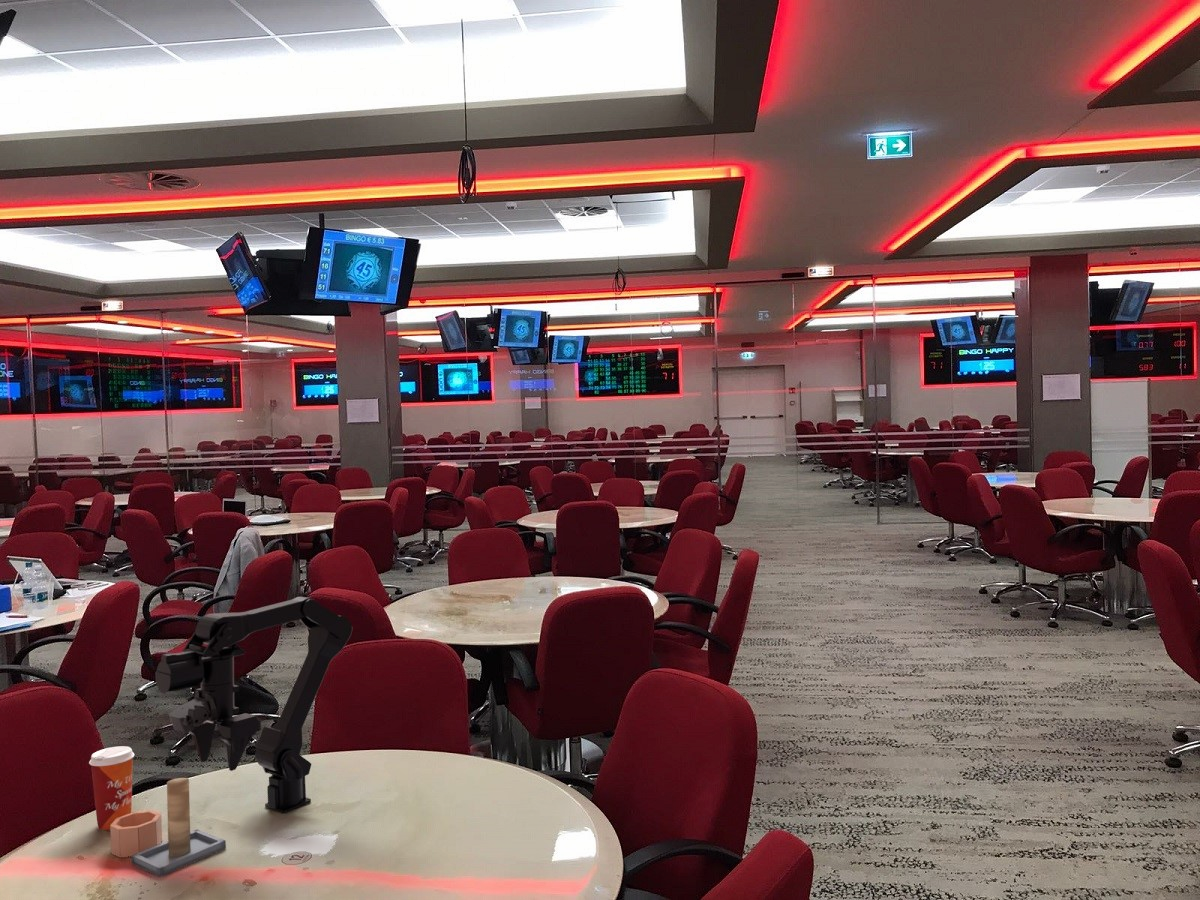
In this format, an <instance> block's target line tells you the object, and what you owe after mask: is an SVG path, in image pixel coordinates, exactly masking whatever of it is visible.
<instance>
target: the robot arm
mask: <svg viewBox="0 0 1200 900" xmlns="http://www.w3.org/2000/svg"><path fill="white" fill-rule="evenodd" d="M297 620H299V622H301V624H302V625H304V627H306V628H308V629H309V631H308V635H307V650H308V651H307V654H306V657H305V660H304V661H303V664H302V666H301V668H300V669H299V670H300V671H299V673H298V675H297V678H296V680H295V682H294V685H293V687H292V689H291V691H290V693H289V696H288V698H287V701H286V703H285V705H284V708H283V710H282V712H281V714H280V716H279V718H278V720H277V721H276V723H274V724H273V725H272V726H271V727H269V726H264V727H263V729H261V728H262V725H261V723H262V720H261V718H260V717H258V716H257V715H254V714H251V713H246V712H244V713H242V714H241V713H240V707H237V706H235V693H237V692H239V691H240V686H239V685H237V684H235V659H234V658H235V657H239V656H242V655H245V654H246V651H245V650H244V649H242V648H241V647H240V646H239V645H238V643H240V642H241V641H243V640H245V639H246V638H247V637H248V636H249V635H250V634H253V633H256V632H258V631H263V630H265V629H270V628H273V627H277V626H280V625H284V624H287V623H290V622H295V621H297ZM352 632H353V626H352V624H351V620H350V619H349V618H348V617H346V616H343V615H339V614H337V613H335V612H334V611H332V610H330V609H328V608H327V607H325V606H323V605H322V604H320V603H319V602H318V601H316V600H315V598H312V597H306V596H297V597H294V598H293V599H289V600H285V601H282V602H277V603H274V604H270V605H266V606H262V607H259V608H254V609H251V610H247V611H241V612H217V613H208V614H205V615H203V616H201V617H200V618H199V621H198V622H197V624H196V626H195V631H194V632H193V634H192V635H191V637H190V638H189V640H188V641H187V643H186V644H185V646H184V647H183V649H182V652H177V653H164V654H161V658H160V659H161V660H160V662H159V663H158V665H157V668H156V671H155V674H154V675H155V684H156V686H157V688H158V691H159V692H160V693H161V694H168V693H174V692H177V691H183V690H187V689H192V688H195V691H194V697H193V699H192V700H189V701H187V702H185V703H184V704H182V705H180V706H179V707H178V708H176V709H174V710H172V711H171V712H169V714H168V717H169V720H170V722H171V724H172V727H173V730H174V731H180V732H182V734H183V733H184V734H187V733H189V734H190V736H191V737H192V741H193V742H194V745H195V747H196V751H197V754H198V758H199V760H200V762H201V763H204V762H207V761H208V760H209V757H210V752H211V749H212V748H211V747H212V743H213V740H214V736H215V735H214V734H215V730H216V726H219V733H220V735H221V736H219V737H218V738H219V739H220V741H222V742H223V743H224V744H225V746H226V748H225V749H226V755H227V757H226V758H227V763H228V770H229V771H230V772H233V771H236V770H237V768H238V766H239V763H240V761H241V759H242V758H243V757H242V756H244V752H245V751H246V748H247V746H248V745H249V743H250V741H251V740H252V738H253V736H254V735H257V732H260V731H261V732H260V733H261V734H260V737H259V739H258V741H257V742H256V744H255V745H254V747H256V749H255V751H254V753H255V754H254V757H255V759H256V762H257V764H258V765H259V766H260V767H262V769H263V771H264V773H265V774H269V775H270V776H268V785H267V790H266V791H267V802H266V803H265V804H264V807H265V808H268V809H271V810H273V811H276V812H281V813H283V814H285V813H287V812H290V811H292V810H294V809H297V808H299V807H302V806H304V805H306V804H309V803H311V802H312V799H311V798H309V797H307V791H306V788H307V787H306V777H307V776H308V775H309V774H310V771H311V767H312V763H311V762H310V761H309V760H308V759H306V758H305V757H303V756H302V755H301V752H302V748H303V728H304V725H305V722H306V720H307V717H308V716H309V714H310V711H311V708H312V705H313V703H314V701H315V699H316V696H317V694H318V691H319V689H320V687H321V685H322V682H323V680H324V677H325V675H326V673H327V671H328V668H329V666H330V663H331V661H332V660H333V659H334V658H335V657H336V656H338V654H339V653H340V652H341V651H342V650H343V649H344V647H346V645H347V643H348V641H349V640H350V638H351V636H352ZM205 645H206V646H205ZM199 684H200V688H196V687H198V686H199ZM237 714H238V715H237Z"/></svg>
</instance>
